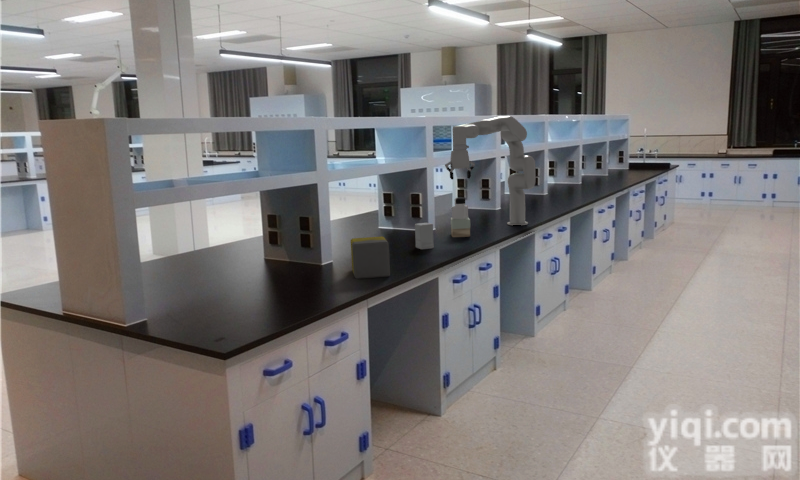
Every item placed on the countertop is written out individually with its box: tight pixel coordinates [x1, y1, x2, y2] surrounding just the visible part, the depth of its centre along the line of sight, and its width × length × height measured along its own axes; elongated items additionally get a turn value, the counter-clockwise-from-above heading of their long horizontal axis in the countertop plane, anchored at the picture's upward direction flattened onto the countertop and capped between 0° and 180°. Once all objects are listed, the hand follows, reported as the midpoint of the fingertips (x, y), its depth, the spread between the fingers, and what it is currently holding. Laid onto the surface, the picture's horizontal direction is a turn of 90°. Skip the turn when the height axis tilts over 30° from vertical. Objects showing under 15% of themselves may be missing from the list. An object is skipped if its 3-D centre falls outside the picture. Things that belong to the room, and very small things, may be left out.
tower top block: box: [450, 217, 471, 229], centre depth 348 cm, size 10×10×5 cm
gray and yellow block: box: [350, 235, 391, 280], centre depth 268 cm, size 15×24×15 cm, turn 9°
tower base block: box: [450, 226, 471, 238], centre depth 349 cm, size 10×10×5 cm
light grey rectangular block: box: [451, 196, 469, 220], centre depth 347 cm, size 7×7×12 cm
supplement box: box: [414, 222, 435, 250], centre depth 316 cm, size 7×7×13 cm
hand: (460, 178), depth 344 cm, fingers open, 9 cm apart
